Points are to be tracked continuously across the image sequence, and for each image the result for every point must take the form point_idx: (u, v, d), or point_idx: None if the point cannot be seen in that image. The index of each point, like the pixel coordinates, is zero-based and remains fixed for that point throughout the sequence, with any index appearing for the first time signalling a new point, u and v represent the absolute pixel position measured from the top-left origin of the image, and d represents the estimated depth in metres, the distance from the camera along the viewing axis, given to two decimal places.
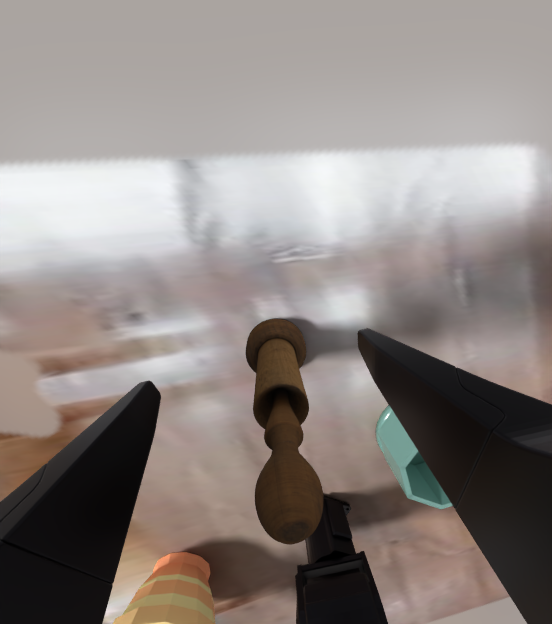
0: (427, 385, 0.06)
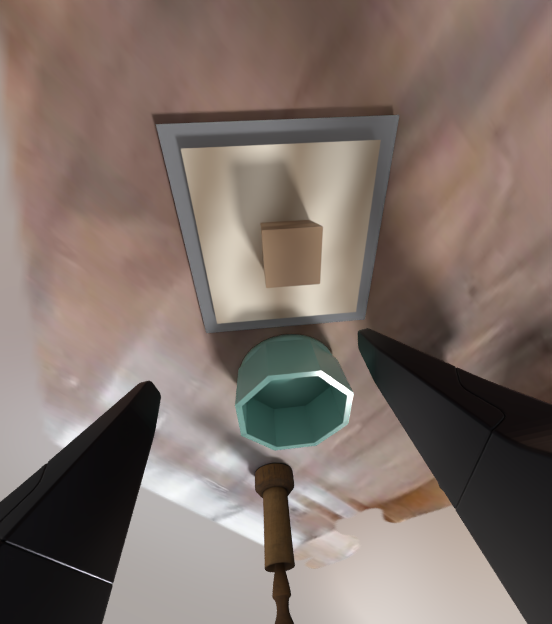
0: (427, 385, 0.06)
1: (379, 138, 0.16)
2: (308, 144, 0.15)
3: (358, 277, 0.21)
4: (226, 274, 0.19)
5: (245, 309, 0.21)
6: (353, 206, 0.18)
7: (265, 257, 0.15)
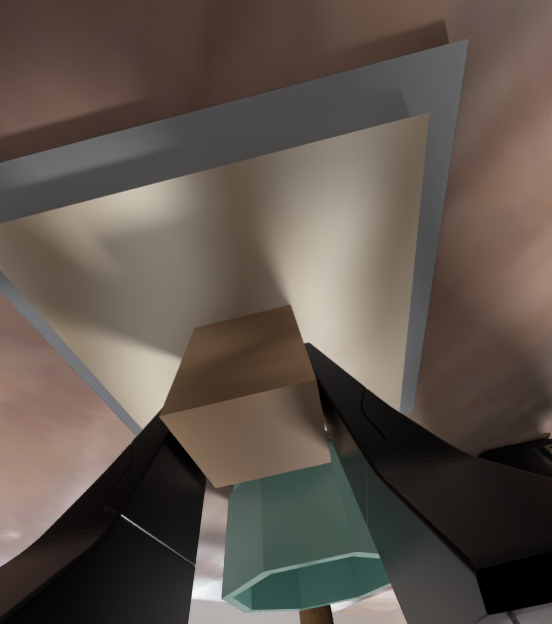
0: (333, 407, 0.06)
1: (421, 109, 0.07)
2: (253, 161, 0.06)
3: (399, 371, 0.11)
4: None
5: None
6: (377, 265, 0.08)
7: (192, 452, 0.06)
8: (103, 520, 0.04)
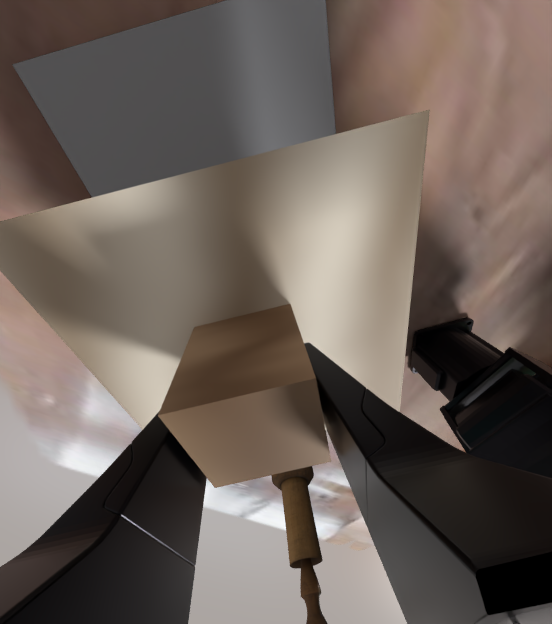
0: (333, 407, 0.06)
1: (304, 16, 0.12)
2: (252, 159, 0.06)
3: (399, 370, 0.11)
4: None
5: None
6: (377, 263, 0.08)
7: (191, 451, 0.06)
8: (103, 521, 0.04)
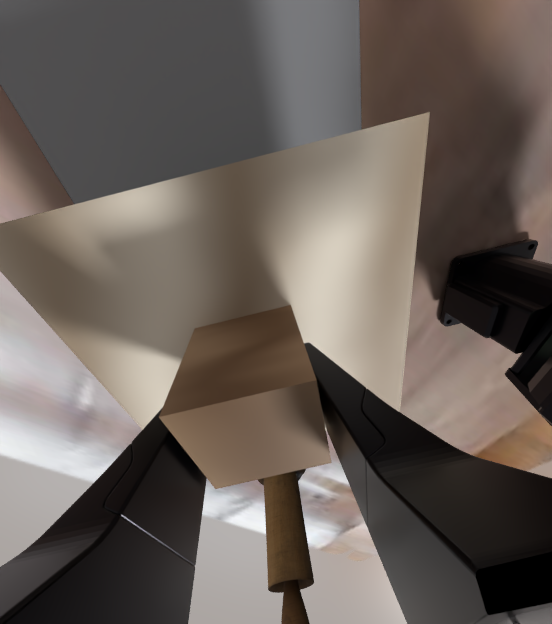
0: (333, 407, 0.06)
1: None
2: (253, 161, 0.06)
3: (399, 371, 0.11)
4: (162, 409, 0.11)
5: None
6: (377, 265, 0.08)
7: (192, 453, 0.06)
8: (103, 521, 0.04)
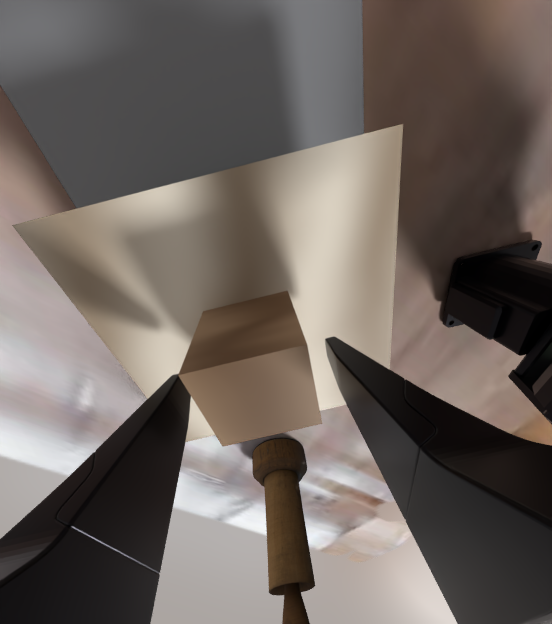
0: (373, 397, 0.06)
1: None
2: (254, 165, 0.08)
3: (386, 353, 0.13)
4: None
5: None
6: (363, 255, 0.10)
7: (204, 410, 0.08)
8: (52, 532, 0.04)
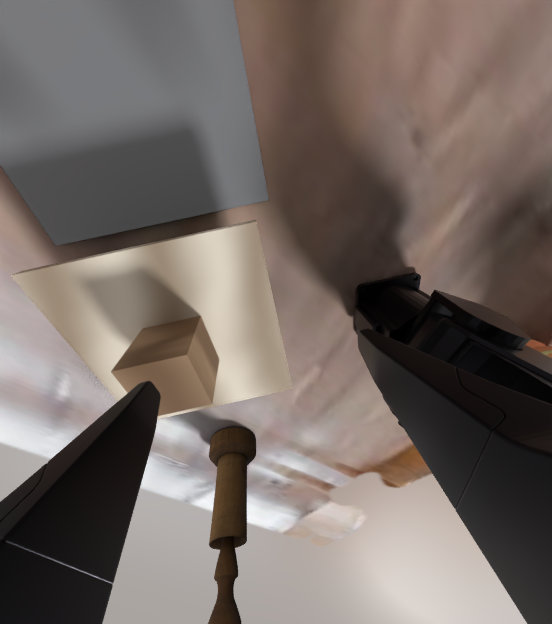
0: (427, 385, 0.06)
1: None
2: (166, 242, 0.12)
3: (283, 358, 0.17)
4: None
5: None
6: (249, 293, 0.14)
7: None
8: None
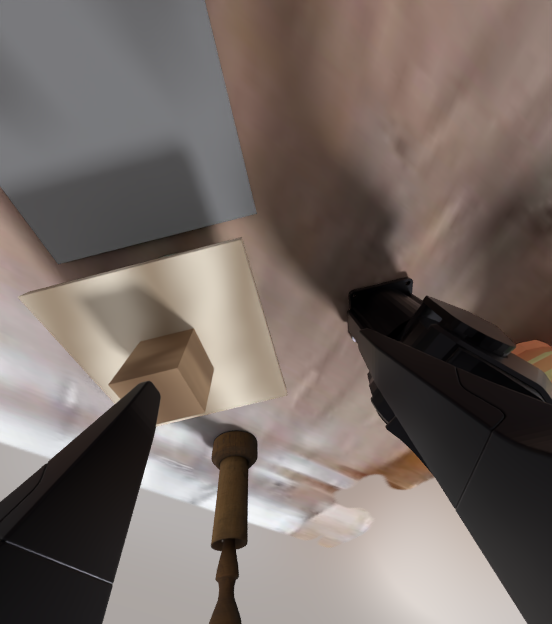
0: (427, 385, 0.06)
1: None
2: (157, 262, 0.13)
3: (275, 366, 0.18)
4: None
5: None
6: (238, 306, 0.15)
7: None
8: None
